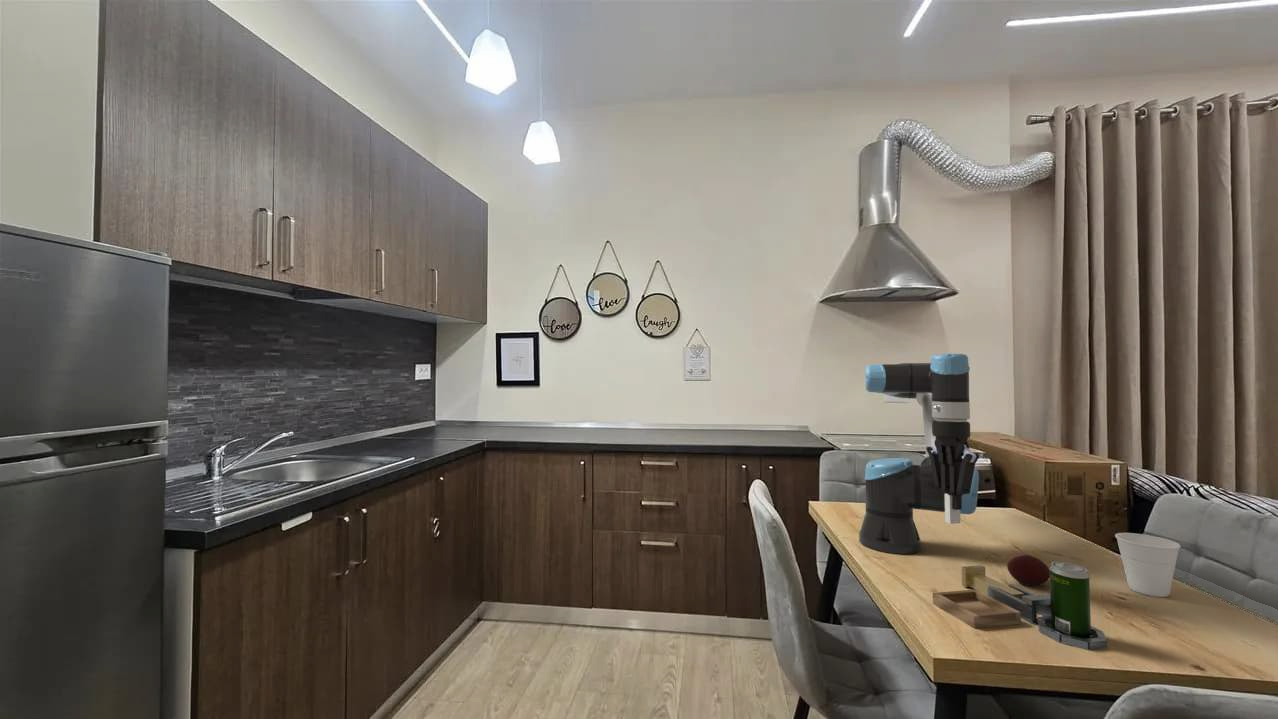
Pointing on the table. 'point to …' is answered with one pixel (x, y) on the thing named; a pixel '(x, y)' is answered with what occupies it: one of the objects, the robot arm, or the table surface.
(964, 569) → the tan block
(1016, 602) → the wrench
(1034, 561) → the potato
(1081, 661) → the table surface
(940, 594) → the brown wooden square frame
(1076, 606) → the beer can
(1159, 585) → the cup
